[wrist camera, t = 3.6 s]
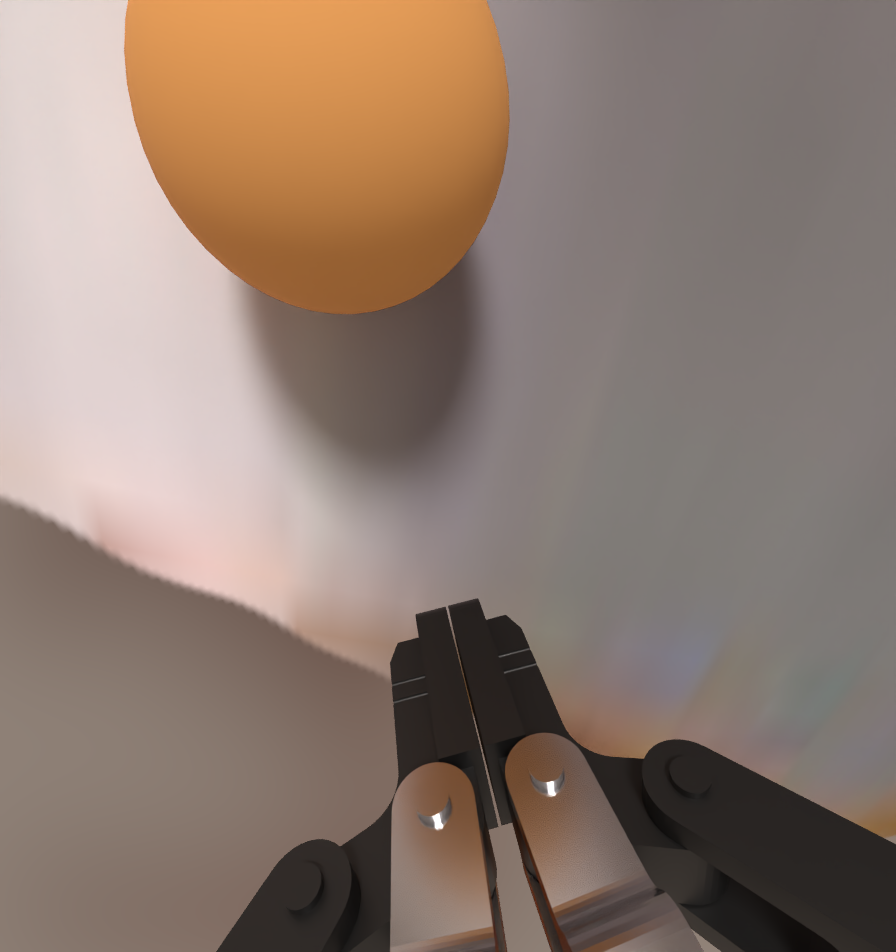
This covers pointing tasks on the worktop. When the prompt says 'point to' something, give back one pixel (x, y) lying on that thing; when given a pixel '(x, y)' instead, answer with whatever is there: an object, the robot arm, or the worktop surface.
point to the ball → (323, 137)
